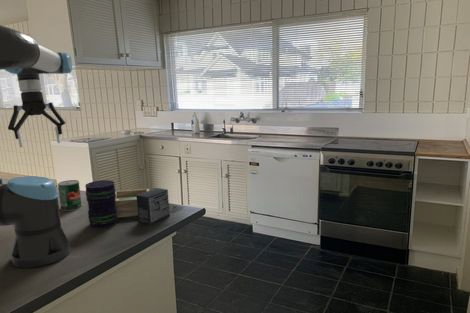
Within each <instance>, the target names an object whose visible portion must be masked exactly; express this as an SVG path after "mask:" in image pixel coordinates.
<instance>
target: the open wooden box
mask: <svg viewBox="0 0 470 313" xmlns="http://www.w3.org/2000/svg"><path fill="white" fill-rule="evenodd" d="M149 190H150V188H141V189H140V188H139V189H126V190H115V194H116V197H115V203H116V207H117V213H118V215H117V217H118V218H125V217H126V218H127V217H138V207H137V197H136V195H138V194H141V193H144V192H147V191H149Z"/></svg>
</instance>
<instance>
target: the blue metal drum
mask: <svg viewBox="0 0 470 313" xmlns="http://www.w3.org/2000/svg"><path fill="white" fill-rule="evenodd" d="M115 191H116V188H115V181H113V180H108V179H107V180H106V179H105V180H96V181H95V180H94V181H91V182H89V183H85V196H86V201H87V205H88V211H87V214H88V216H87V217H88V220H89V221H88V222H89V227H90V228H91V229H95V230H96V229H97V230H99V229H107V228H111V227H113V226H115V225H117V224H118V223H119V219H118V218H119V217H117V215H118V213H117V207H116V203H115V197H116V194H115Z"/></svg>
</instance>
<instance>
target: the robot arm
mask: <svg viewBox="0 0 470 313" xmlns="http://www.w3.org/2000/svg"><path fill="white" fill-rule="evenodd" d="M2 70H5V72H8V73H9V74H13V75H15V74H16V77H17V81H18V88H19V91H20V92H21V93H20V98H21V105H13V112H12V116H11V118H10V121H9V124H8V127H7V129H8V130H9V131H13V132H14V137H15V139H16V140H18V144H19V148H24V147H25V142H24V139H23V138H24V137H23V134H22V130H20V129H21V127H22V126H23V124H24V123H25V122H26V120H27V119H28V117H29V116H33V117H34V116H41V115H42V116H44V117H45V118H47V119H48V121H50V122H51V123H52V124H54V125H55V127H54V129H55V136H56V141H57V144H60V143H62V140H61V135H62V134H63V131H62V130H63V129H62V126H64V125H66V121H65V120H64V118H63V117H62V116H61V115H60V113H59V112H58V111H57V109H56V107H55V104H54V103H53V102H51V101H50V102H48V103H45V100H44V95H43V94H44V93H43V92H42V82H41V79H40V75H42V74H43V75H44V74H46V75H47V74H48V75H50V74H51V75H52V74H53V75H54V74H60V75H61V74H62V75H63V74H70V73H71V72H73V61H72V58H71V55H70V54H69V53H68V52H62V51H59V52H55V51H53V50H50V49H49V48H47V47H44V46H42V45H40V44H39V43H37V41H36V40H35V39H34V38H33V37H32V36H29V34H26V33H24V32H21V31H19V30H17V29H14V28H10V27H7V26H4V25H0V71H2ZM46 107H47V108H48V109H50V111H51V112H52V113H53V115H54V117H56V118H57V119H55V118H54V117H53V116H52V115H50V114H49V113H48V112H47V111H46V110H45V109H46ZM21 110H23V111H24V113H23V114H22V116H21V118H20V119H19V120H18V122H17V119H18V117H19V113H20V112H21ZM16 122H17V123H16ZM60 214H61V213H60V205H59V192H58V191H57V186H56V183H55V181H54V179H51V178H48V177H44V176H38V175H37V176H36V175H27V176H25V175H24V176H18V177H17V176H16V177H14V178H11V179H8V181H7V182H6V183H3V177H2V175H0V227H7V226H13V227H14V232H15V234H14V235H15V236H14V241H13V246H12V250H11V255H10V256H11V262H12V265H13V266H14V267H15V268H21V269H23V268H24V269H31V268H32V269H33V268H39V267H43V266H47V265H51V264H54V263H56V262H58V261H61V260H62V259H64V258H65V257H67V256H68V255H69V254H70V253H71V250H72V249H71V243H70V240H69V238H68V236H67V235H66V233H65V230H64V228H62V223H61V215H60Z"/></svg>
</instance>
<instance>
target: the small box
mask: <svg viewBox="0 0 470 313" xmlns="http://www.w3.org/2000/svg"><path fill="white" fill-rule="evenodd" d="M136 197H137V207H138V216H137V217H138V223H142V224H146V225H150V226H151V225H153V224H155V223H157V222H159V221H161V220H164V219H166V218H168V217H170V214H171V213H170V204H169V203H170V202H169V201H170V200H169V190H168V188H167V189H165V188H159V187H155V188H152V189H149V191H147V192H144V193H141V194H138V195H136Z"/></svg>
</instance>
